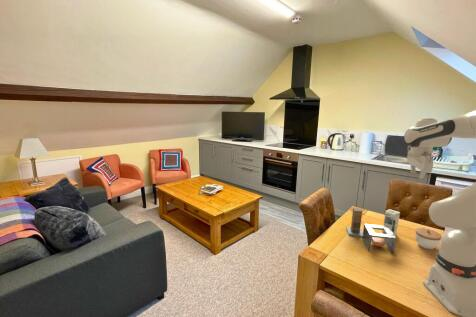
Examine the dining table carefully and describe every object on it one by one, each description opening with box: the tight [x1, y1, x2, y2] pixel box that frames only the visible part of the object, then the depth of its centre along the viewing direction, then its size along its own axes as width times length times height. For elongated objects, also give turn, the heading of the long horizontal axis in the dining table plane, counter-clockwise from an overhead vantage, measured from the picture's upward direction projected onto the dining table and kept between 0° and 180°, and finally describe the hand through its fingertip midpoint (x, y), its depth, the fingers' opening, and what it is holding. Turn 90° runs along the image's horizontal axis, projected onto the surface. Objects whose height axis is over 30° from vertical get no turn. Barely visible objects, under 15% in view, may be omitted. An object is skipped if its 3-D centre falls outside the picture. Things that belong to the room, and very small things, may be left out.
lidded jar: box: [414, 227, 442, 250], centre depth 126 cm, size 11×11×9 cm
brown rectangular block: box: [350, 207, 363, 234], centre depth 138 cm, size 4×4×14 cm
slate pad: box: [346, 226, 363, 238], centre depth 140 cm, size 8×8×1 cm
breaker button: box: [371, 237, 386, 248], centre depth 127 cm, size 5×5×2 cm
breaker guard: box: [361, 223, 397, 255], centre depth 127 cm, size 12×12×9 cm
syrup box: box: [381, 208, 401, 236], centre depth 137 cm, size 6×6×14 cm
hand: (417, 175), depth 126 cm, fingers open, 8 cm apart
